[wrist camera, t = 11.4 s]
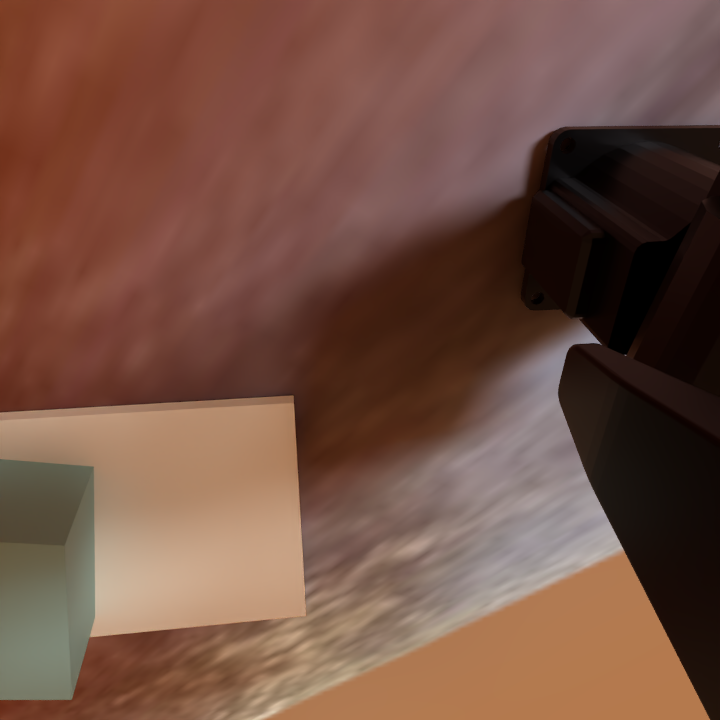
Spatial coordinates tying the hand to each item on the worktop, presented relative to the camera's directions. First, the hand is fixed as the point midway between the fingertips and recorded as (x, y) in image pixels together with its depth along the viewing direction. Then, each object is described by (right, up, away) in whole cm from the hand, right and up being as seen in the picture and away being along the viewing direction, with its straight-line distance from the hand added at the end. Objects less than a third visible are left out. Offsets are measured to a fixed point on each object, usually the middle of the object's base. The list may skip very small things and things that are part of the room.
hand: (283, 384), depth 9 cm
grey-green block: (-13, -8, +17) cm, 23 cm away
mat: (-12, -7, +18) cm, 22 cm away
